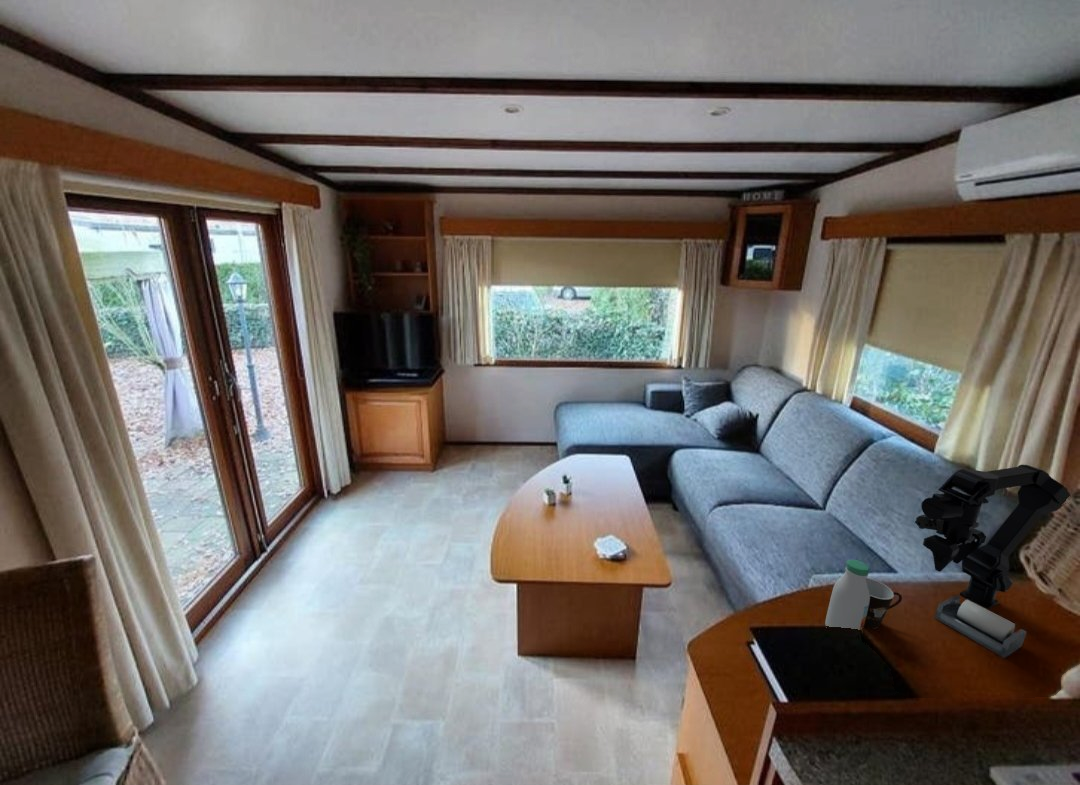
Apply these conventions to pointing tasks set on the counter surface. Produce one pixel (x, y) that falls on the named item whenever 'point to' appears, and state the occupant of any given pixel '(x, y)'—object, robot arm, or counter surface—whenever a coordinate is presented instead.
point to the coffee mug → (878, 602)
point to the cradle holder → (949, 617)
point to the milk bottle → (850, 598)
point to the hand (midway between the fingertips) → (946, 566)
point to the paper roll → (985, 620)
